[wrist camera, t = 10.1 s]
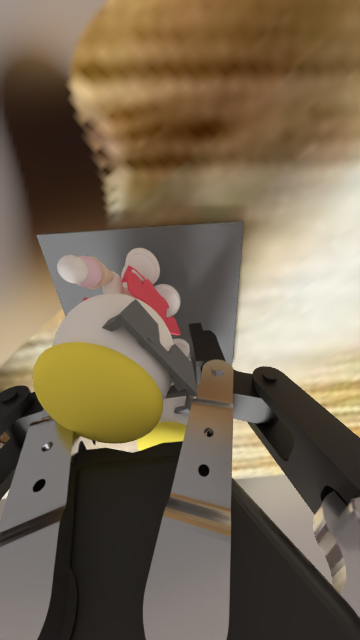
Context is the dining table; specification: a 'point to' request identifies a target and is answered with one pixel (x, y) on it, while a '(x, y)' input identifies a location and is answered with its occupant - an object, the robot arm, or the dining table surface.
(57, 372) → the toy figures
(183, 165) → the dining table surface
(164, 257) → the mat
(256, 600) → the robot arm
